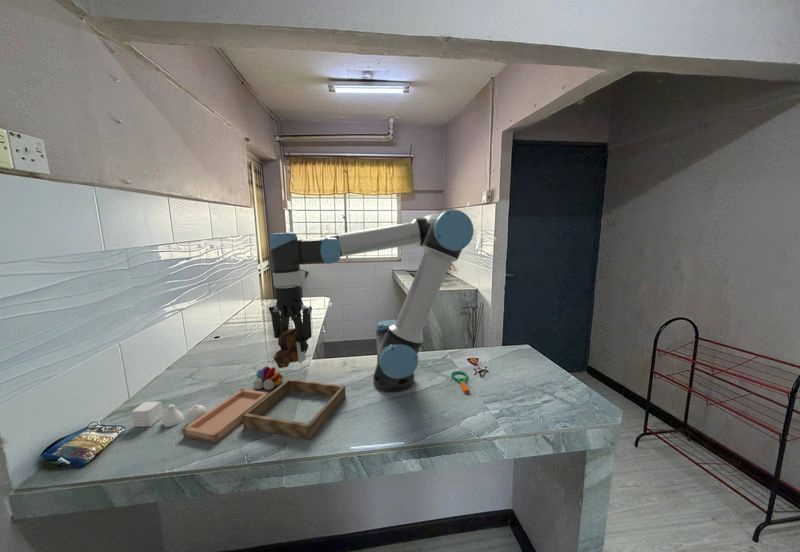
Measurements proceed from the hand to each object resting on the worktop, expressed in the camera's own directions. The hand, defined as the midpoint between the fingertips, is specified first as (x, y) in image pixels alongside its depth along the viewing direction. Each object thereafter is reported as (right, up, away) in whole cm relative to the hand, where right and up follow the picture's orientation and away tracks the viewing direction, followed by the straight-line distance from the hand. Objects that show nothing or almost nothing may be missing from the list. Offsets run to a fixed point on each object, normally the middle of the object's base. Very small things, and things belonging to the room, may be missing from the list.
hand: (295, 360), depth 95 cm
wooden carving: (0, -1, 0) cm, 1 cm away
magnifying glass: (+55, -14, +18) cm, 59 cm away
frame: (0, -17, +3) cm, 17 cm away
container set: (-37, -19, -1) cm, 41 cm away
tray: (-20, -18, +1) cm, 27 cm away
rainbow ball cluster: (-16, -15, +19) cm, 29 cm away
